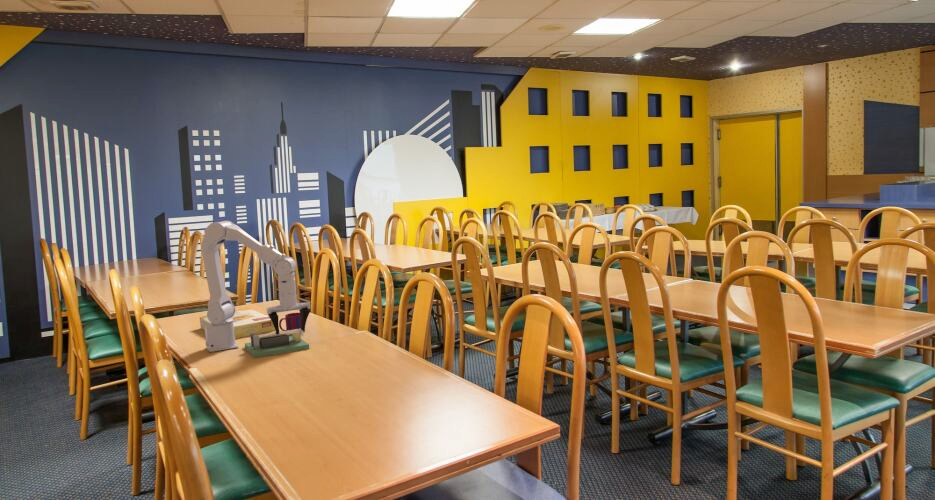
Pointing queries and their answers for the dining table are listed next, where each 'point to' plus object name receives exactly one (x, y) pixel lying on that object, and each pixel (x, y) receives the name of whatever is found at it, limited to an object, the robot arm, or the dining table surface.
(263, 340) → the dark and beige blocks
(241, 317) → the cereal box
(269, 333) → the beige long bar
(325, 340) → the dining table surface
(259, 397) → the dining table surface
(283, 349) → the circuit board
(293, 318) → the mug
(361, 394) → the dining table surface
